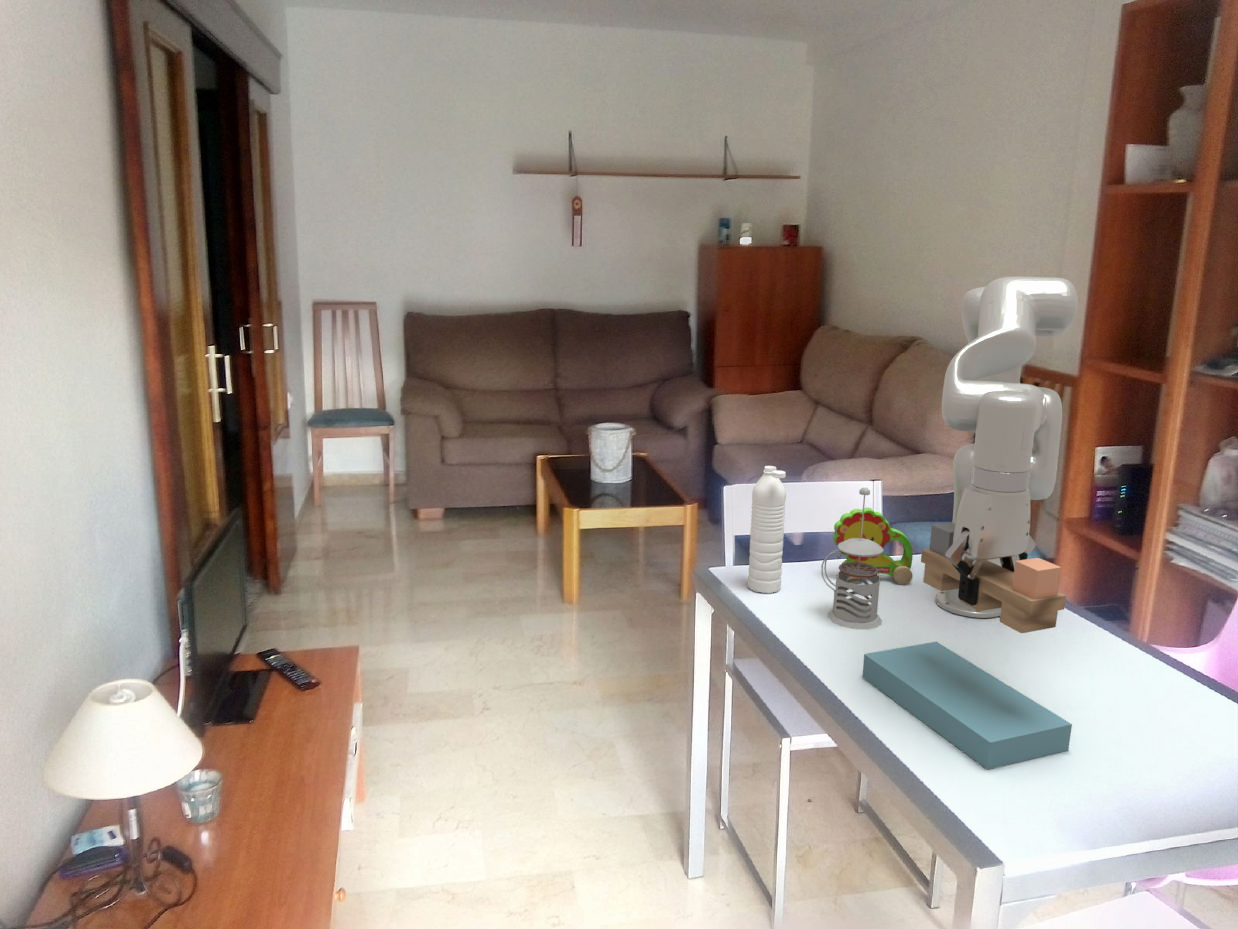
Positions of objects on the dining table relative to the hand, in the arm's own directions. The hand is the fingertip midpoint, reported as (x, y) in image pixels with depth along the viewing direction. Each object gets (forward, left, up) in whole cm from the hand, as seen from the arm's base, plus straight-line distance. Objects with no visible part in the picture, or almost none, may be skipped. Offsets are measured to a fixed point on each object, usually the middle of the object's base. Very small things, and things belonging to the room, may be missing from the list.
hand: (985, 597), depth 135 cm
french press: (-2, -35, -18) cm, 39 cm away
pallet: (0, 0, -1) cm, 1 cm away
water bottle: (+6, -52, -18) cm, 55 cm away
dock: (+3, 0, -18) cm, 18 cm away
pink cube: (0, +9, +4) cm, 9 cm away
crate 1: (0, -8, +4) cm, 9 cm away
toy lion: (-17, -50, -18) cm, 56 cm away
